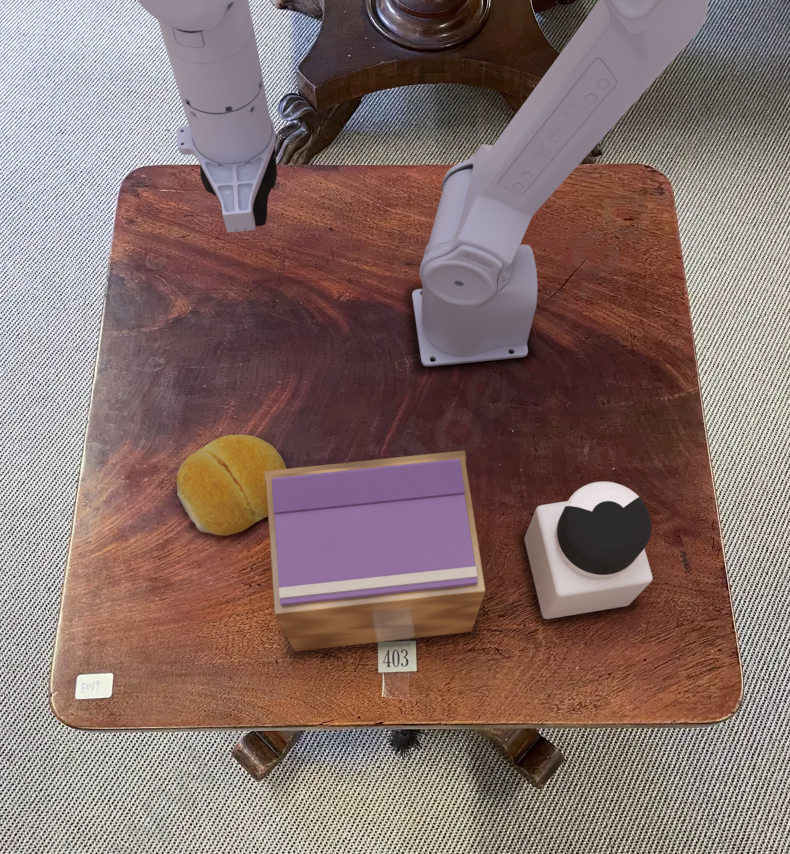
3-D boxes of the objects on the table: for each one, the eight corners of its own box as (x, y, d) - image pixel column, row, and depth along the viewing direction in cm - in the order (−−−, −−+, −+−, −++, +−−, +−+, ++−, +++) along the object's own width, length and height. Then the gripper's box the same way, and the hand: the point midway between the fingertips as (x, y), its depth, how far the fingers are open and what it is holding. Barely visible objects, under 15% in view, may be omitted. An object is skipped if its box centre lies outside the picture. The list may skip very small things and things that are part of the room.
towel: (458, 462, 60) (459, 456, 59) (477, 584, 57) (478, 580, 56) (273, 481, 60) (271, 476, 59) (281, 606, 56) (279, 602, 56)
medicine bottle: (630, 606, 68) (675, 559, 57) (542, 620, 68) (570, 576, 57) (607, 523, 71) (646, 462, 59) (522, 536, 70) (546, 478, 59)
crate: (455, 509, 71) (465, 449, 60) (473, 631, 67) (487, 591, 57) (284, 527, 71) (263, 470, 60) (292, 651, 67) (272, 614, 56)
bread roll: (306, 498, 72) (301, 479, 68) (212, 554, 70) (202, 538, 66) (256, 424, 74) (249, 402, 70) (164, 476, 72) (152, 456, 69)
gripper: (159, 10, 60) (201, 155, 73) (162, 171, 55) (206, 298, 68) (259, 1, 60) (284, 147, 73) (272, 161, 55) (295, 289, 68)
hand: (252, 219), depth 70 cm, fingers closed
